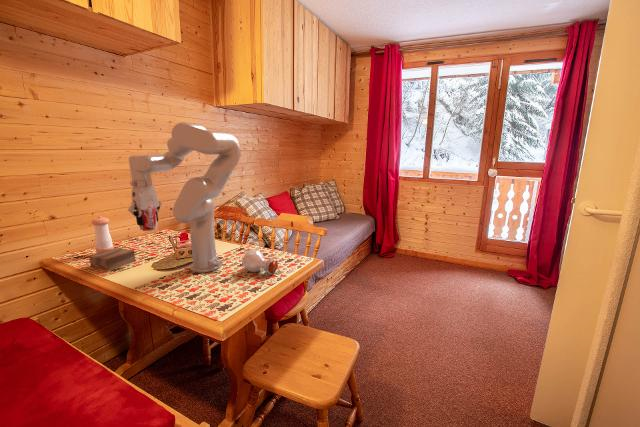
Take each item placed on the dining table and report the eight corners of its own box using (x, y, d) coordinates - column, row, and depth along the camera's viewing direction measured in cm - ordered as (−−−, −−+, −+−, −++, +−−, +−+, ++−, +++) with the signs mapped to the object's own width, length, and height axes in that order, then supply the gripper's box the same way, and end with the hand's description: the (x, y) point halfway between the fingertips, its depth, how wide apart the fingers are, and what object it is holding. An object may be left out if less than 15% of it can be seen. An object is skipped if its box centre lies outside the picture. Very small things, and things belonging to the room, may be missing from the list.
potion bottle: (245, 270, 130) (274, 280, 125) (234, 265, 122) (264, 275, 116) (253, 251, 133) (282, 259, 128) (243, 244, 124) (273, 253, 119)
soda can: (161, 227, 138) (157, 202, 136) (151, 231, 131) (147, 205, 129) (147, 227, 139) (143, 202, 137) (136, 231, 132) (132, 205, 130)
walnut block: (135, 260, 138) (134, 250, 137) (109, 270, 127) (108, 259, 126) (117, 257, 142) (115, 247, 141) (91, 266, 131) (89, 256, 130)
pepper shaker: (99, 257, 143) (93, 218, 139) (94, 254, 147) (87, 216, 143) (117, 253, 149) (111, 215, 145) (111, 250, 153) (105, 213, 149)
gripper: (130, 186, 122) (136, 228, 125) (165, 182, 138) (170, 219, 141) (117, 186, 124) (124, 227, 128) (153, 181, 140) (158, 218, 144)
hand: (148, 222), depth 135 cm, fingers closed on soda can, 6 cm apart
